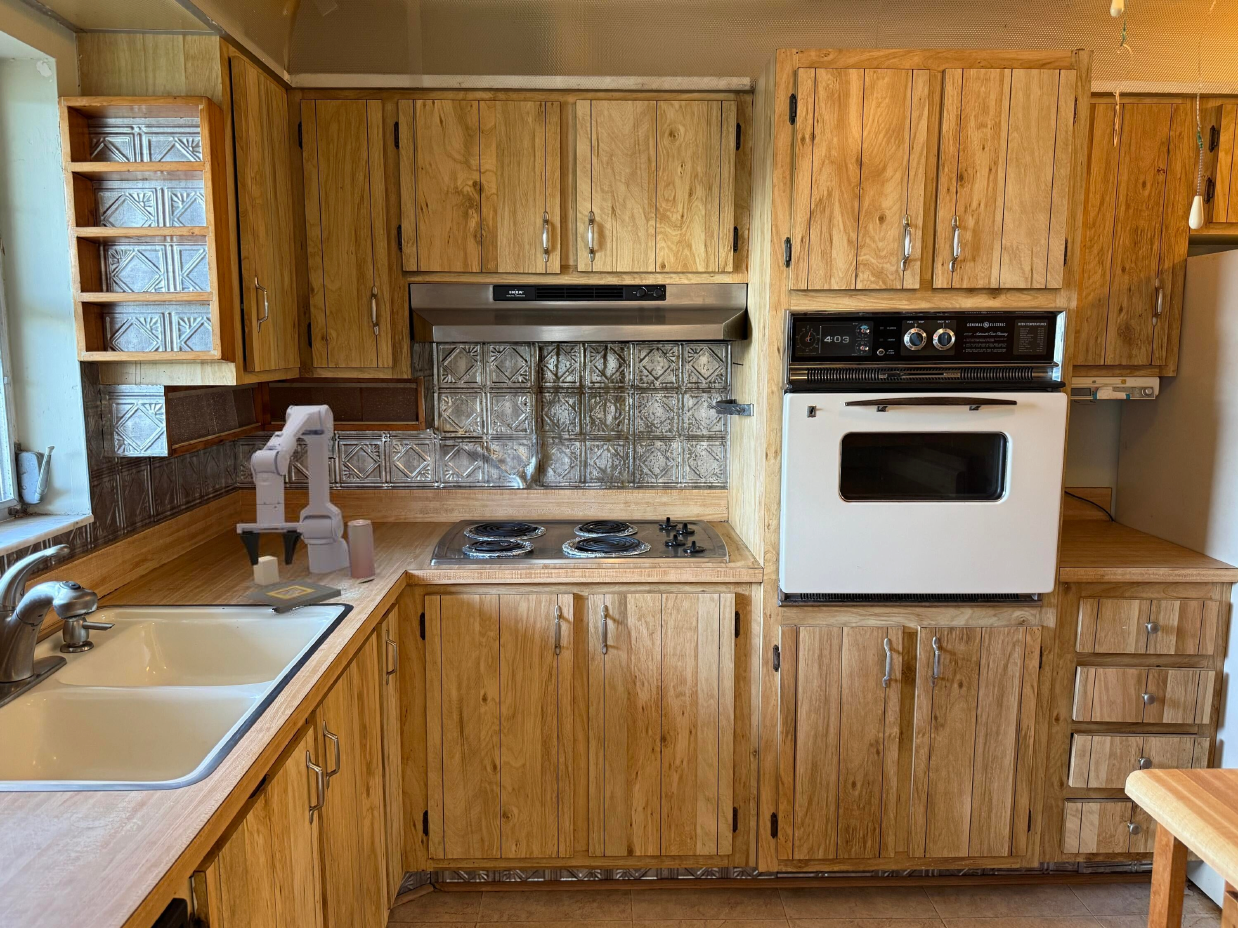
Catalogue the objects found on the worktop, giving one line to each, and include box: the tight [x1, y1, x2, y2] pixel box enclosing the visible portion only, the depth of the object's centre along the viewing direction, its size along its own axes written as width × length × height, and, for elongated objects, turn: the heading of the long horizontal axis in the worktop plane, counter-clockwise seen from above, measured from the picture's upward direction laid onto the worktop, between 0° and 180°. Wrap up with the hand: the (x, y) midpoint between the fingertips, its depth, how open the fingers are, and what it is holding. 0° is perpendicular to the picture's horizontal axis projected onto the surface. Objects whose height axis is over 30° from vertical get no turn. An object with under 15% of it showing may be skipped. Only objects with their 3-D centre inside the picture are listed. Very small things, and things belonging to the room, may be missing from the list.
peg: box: [253, 555, 280, 586], centre depth 212 cm, size 4×4×6 cm
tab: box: [243, 577, 291, 590], centre depth 213 cm, size 8×8×2 cm
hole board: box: [240, 579, 342, 615], centre depth 204 cm, size 16×16×2 cm
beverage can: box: [346, 519, 376, 585], centre depth 217 cm, size 6×6×15 cm
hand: (271, 564), depth 193 cm, fingers open, 7 cm apart
